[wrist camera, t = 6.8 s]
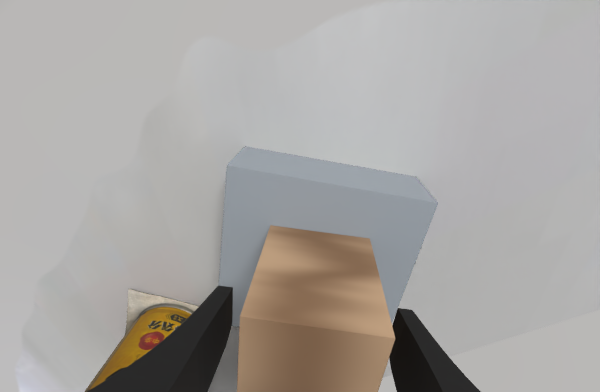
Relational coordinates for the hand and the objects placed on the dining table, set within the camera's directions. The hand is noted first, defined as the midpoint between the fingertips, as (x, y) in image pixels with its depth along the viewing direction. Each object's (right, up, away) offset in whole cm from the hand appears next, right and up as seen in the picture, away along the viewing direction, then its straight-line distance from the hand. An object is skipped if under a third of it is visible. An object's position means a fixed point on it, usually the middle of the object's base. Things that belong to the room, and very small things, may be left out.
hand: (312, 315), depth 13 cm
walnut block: (0, +1, +3) cm, 3 cm away
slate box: (0, +3, +7) cm, 7 cm away
